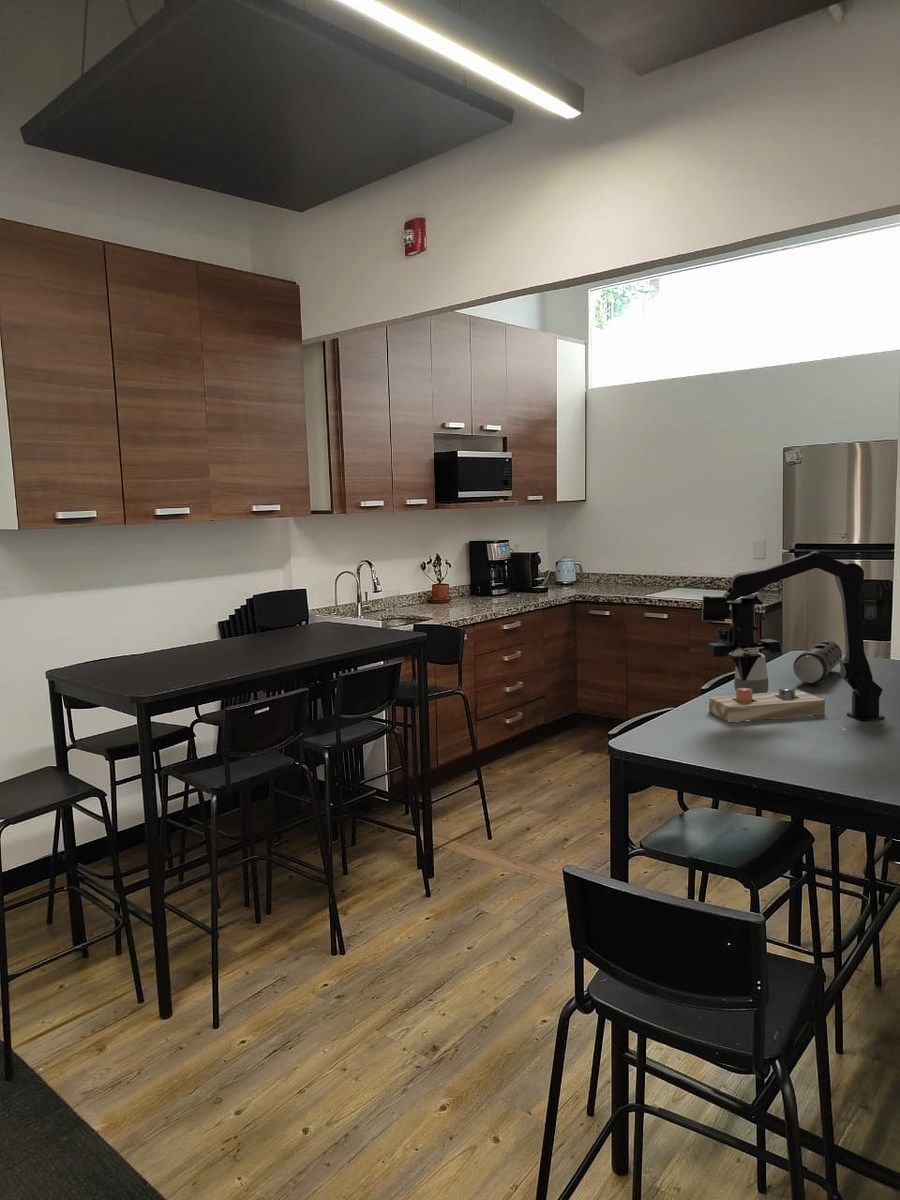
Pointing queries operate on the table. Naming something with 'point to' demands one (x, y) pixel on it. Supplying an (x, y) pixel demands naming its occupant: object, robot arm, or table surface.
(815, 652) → the muzzle brake
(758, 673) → the smart speaker
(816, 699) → the button panel
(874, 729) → the table surface
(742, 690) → the red button
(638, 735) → the table surface
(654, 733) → the table surface
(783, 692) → the grey button
